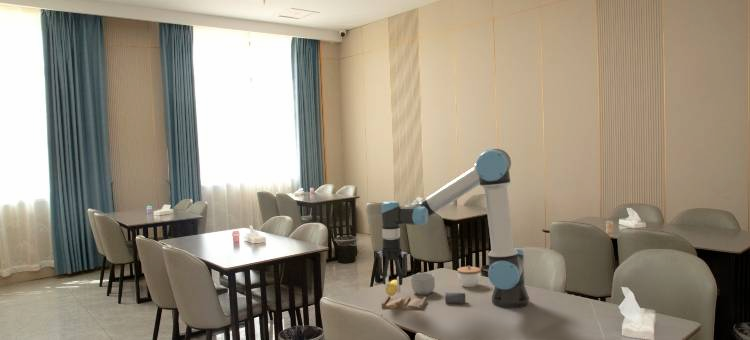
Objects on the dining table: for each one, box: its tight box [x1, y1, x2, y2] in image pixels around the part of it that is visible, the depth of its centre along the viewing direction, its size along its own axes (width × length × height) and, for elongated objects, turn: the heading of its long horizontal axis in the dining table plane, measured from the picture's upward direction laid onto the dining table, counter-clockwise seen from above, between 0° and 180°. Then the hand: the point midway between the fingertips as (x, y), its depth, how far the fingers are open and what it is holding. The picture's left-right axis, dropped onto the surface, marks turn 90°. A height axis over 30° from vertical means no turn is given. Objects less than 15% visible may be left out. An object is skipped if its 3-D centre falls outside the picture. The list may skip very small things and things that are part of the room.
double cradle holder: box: [381, 295, 427, 311], centre depth 224 cm, size 17×11×2 cm, turn 75°
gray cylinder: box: [444, 292, 466, 305], centre depth 223 cm, size 8×4×4 cm
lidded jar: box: [457, 265, 482, 288], centre depth 249 cm, size 11×11×9 cm
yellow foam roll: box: [385, 279, 397, 297], centre depth 225 cm, size 8×4×4 cm, turn 165°
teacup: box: [410, 272, 436, 296], centre depth 241 cm, size 14×11×8 cm
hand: (393, 292), depth 225 cm, fingers closed on yellow foam roll, 4 cm apart
